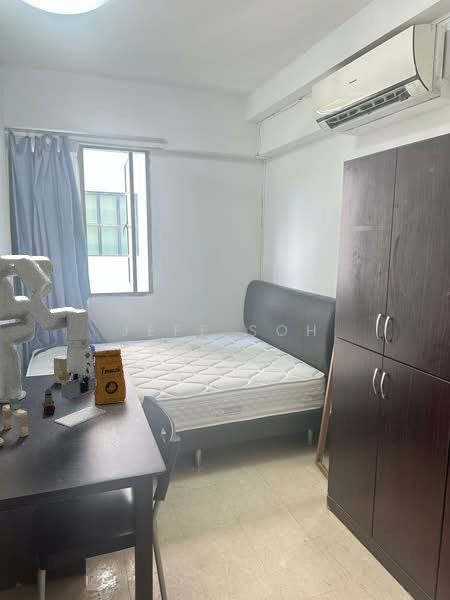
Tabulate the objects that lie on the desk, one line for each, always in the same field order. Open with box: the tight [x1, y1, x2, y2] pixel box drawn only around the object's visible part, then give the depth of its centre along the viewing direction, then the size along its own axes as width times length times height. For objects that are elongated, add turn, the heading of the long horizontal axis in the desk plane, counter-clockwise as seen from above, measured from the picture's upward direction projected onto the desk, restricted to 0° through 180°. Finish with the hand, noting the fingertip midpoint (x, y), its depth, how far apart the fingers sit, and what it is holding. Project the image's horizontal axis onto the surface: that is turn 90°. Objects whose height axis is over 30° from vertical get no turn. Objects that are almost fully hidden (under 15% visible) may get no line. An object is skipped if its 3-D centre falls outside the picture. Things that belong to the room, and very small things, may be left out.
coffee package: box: [93, 348, 127, 405], centre depth 167 cm, size 10×12×22 cm
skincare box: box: [53, 355, 71, 385], centre depth 191 cm, size 6×4×12 cm
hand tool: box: [43, 388, 56, 416], centre depth 163 cm, size 19×4×5 cm, turn 22°
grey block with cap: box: [60, 376, 97, 400], centre depth 151 cm, size 4×13×5 cm, turn 148°
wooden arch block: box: [1, 396, 29, 438], centre depth 139 cm, size 12×2×12 cm, turn 58°
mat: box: [54, 406, 107, 428], centre depth 152 cm, size 9×16×1 cm, turn 148°
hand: (80, 390), depth 151 cm, fingers closed on grey block with cap, 4 cm apart
